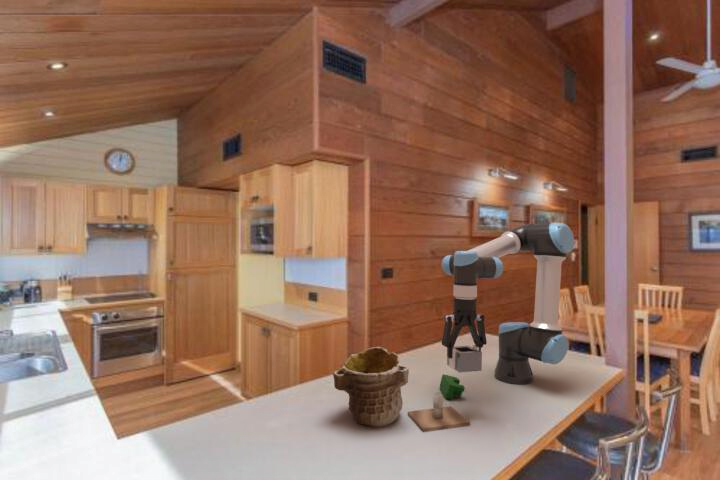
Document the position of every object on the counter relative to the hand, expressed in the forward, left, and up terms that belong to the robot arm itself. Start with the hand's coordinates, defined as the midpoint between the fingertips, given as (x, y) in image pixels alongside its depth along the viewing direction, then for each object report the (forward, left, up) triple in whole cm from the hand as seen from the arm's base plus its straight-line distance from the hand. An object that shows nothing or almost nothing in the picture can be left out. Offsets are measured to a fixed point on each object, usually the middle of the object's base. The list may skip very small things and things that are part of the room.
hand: (463, 366), depth 129 cm
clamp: (-5, -17, -17) cm, 24 cm away
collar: (0, 0, 0) cm, 0 cm away
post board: (+10, 0, -16) cm, 19 cm away
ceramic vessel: (+31, -7, -16) cm, 35 cm away
